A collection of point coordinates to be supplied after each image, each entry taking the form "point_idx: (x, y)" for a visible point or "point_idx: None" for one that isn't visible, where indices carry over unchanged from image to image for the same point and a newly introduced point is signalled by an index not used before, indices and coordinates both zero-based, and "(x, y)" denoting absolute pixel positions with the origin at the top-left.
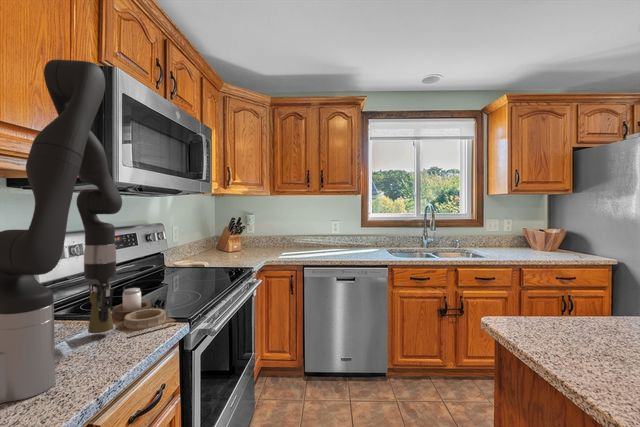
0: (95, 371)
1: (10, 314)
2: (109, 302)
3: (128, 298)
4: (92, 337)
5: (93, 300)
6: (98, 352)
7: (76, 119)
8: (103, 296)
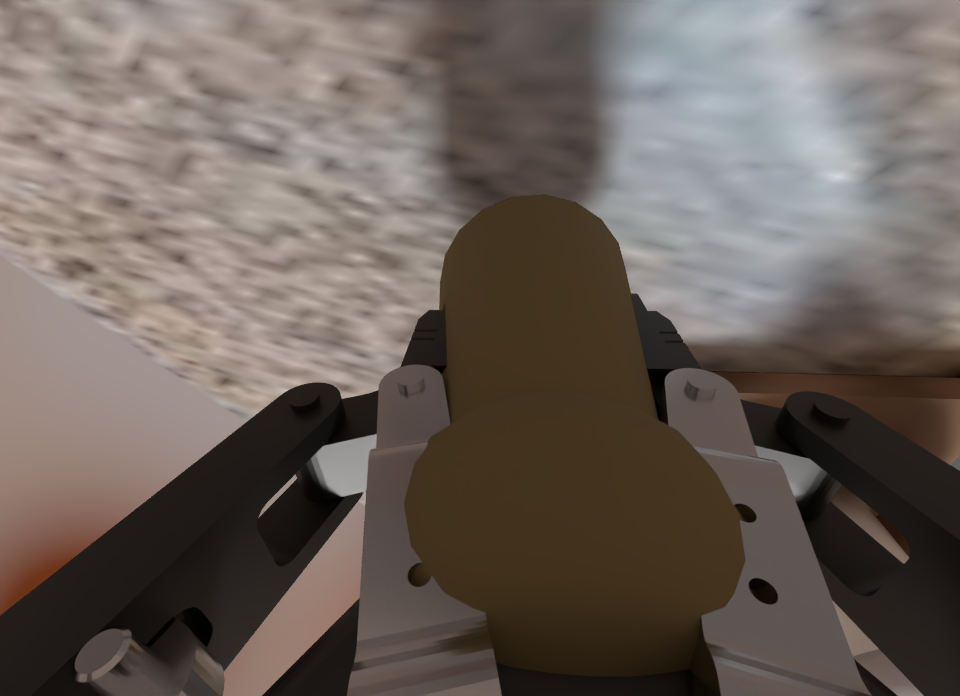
0: (8, 91)
1: None
2: (273, 526)
3: (838, 612)
4: (658, 230)
5: (449, 438)
6: (325, 186)
7: None
8: (43, 603)
